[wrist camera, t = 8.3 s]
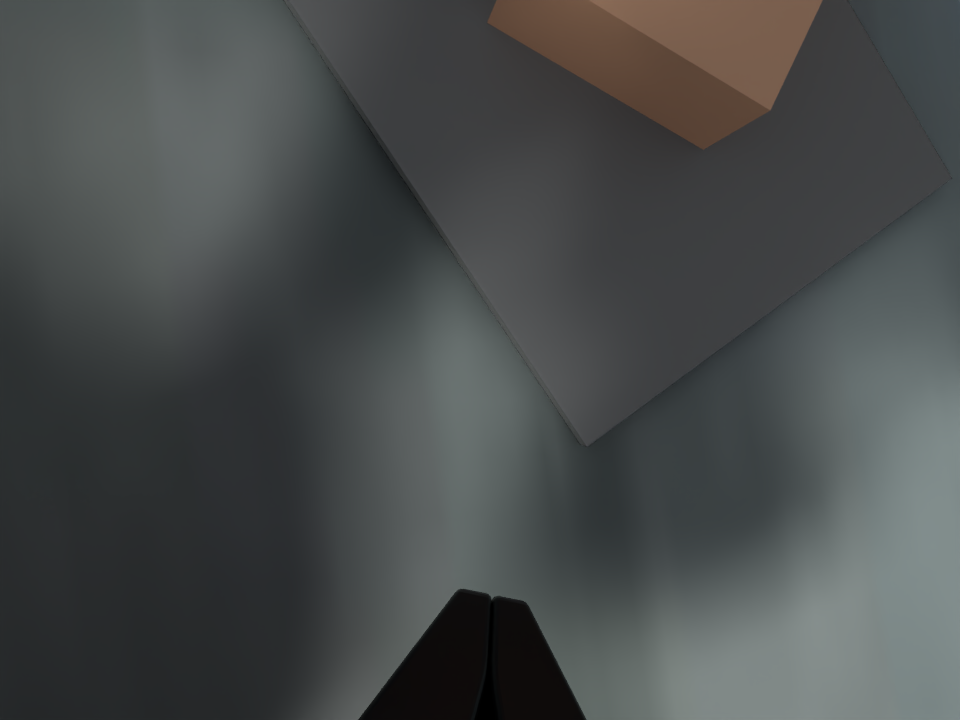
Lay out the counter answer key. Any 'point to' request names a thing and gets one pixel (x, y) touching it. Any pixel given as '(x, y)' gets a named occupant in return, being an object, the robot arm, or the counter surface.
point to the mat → (623, 189)
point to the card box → (670, 53)
